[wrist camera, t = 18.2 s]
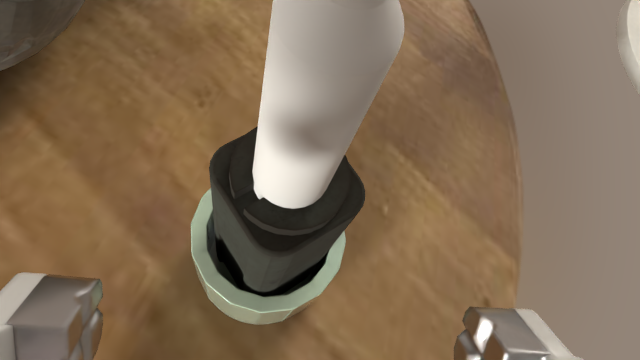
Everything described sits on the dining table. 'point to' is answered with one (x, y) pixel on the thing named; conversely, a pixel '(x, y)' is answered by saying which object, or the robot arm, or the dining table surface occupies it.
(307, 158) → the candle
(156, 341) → the dining table surface
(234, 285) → the holder
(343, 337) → the dining table surface
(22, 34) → the bowl
